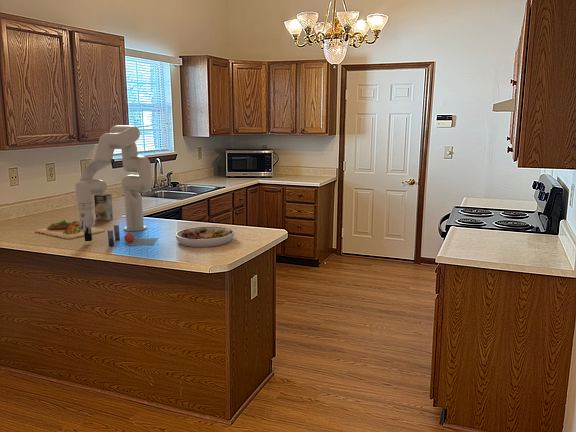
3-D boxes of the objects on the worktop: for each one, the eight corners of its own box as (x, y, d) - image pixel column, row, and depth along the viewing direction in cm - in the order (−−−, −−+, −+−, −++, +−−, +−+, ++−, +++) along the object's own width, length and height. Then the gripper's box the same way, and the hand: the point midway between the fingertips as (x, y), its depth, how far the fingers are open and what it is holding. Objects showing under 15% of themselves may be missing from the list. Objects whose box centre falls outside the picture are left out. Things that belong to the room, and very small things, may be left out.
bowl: (196, 233, 278) (195, 219, 277) (244, 237, 267) (243, 223, 266) (164, 246, 251) (163, 231, 249) (216, 251, 240) (215, 235, 238)
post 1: (109, 245, 252) (108, 229, 251) (114, 245, 252) (113, 229, 251) (108, 246, 250) (106, 231, 248) (113, 246, 250) (112, 230, 248)
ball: (133, 231, 259) (136, 240, 260) (124, 233, 259) (127, 242, 260) (131, 232, 254) (134, 242, 255) (121, 235, 254) (124, 244, 255)
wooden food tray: (106, 232, 284) (105, 219, 282) (69, 241, 265) (67, 227, 263) (71, 225, 303) (69, 213, 302) (33, 233, 284) (32, 220, 283)
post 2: (115, 239, 264) (114, 224, 262) (120, 239, 264) (119, 224, 263) (114, 240, 261) (113, 225, 260) (119, 240, 262) (118, 225, 260)
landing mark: (131, 239, 264) (131, 238, 264) (157, 238, 266) (157, 238, 265) (125, 245, 251) (125, 245, 251) (153, 245, 252) (153, 244, 252)
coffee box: (95, 220, 316) (93, 195, 312) (101, 218, 322) (99, 193, 319) (107, 220, 313) (105, 195, 310) (113, 218, 319) (111, 194, 316)
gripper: (88, 208, 245) (91, 244, 249) (97, 203, 260) (100, 237, 263) (72, 208, 244) (76, 244, 248) (82, 203, 259) (85, 237, 263)
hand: (88, 240), depth 256 cm, fingers closed
